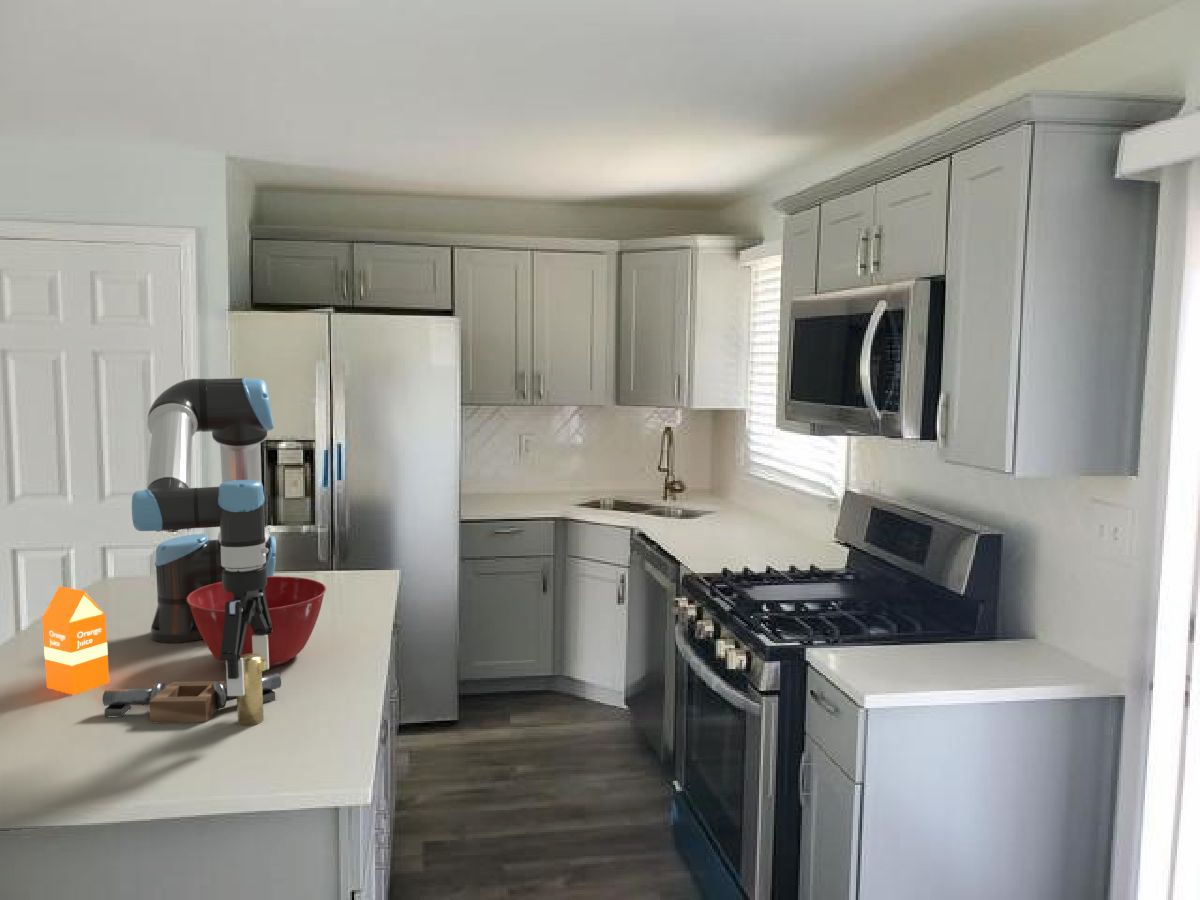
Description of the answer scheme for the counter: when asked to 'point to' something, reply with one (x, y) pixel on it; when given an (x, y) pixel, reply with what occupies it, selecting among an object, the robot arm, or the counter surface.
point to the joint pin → (251, 691)
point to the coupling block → (184, 702)
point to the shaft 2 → (221, 696)
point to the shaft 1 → (128, 699)
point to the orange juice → (74, 642)
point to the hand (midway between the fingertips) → (249, 681)
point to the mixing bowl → (289, 613)
